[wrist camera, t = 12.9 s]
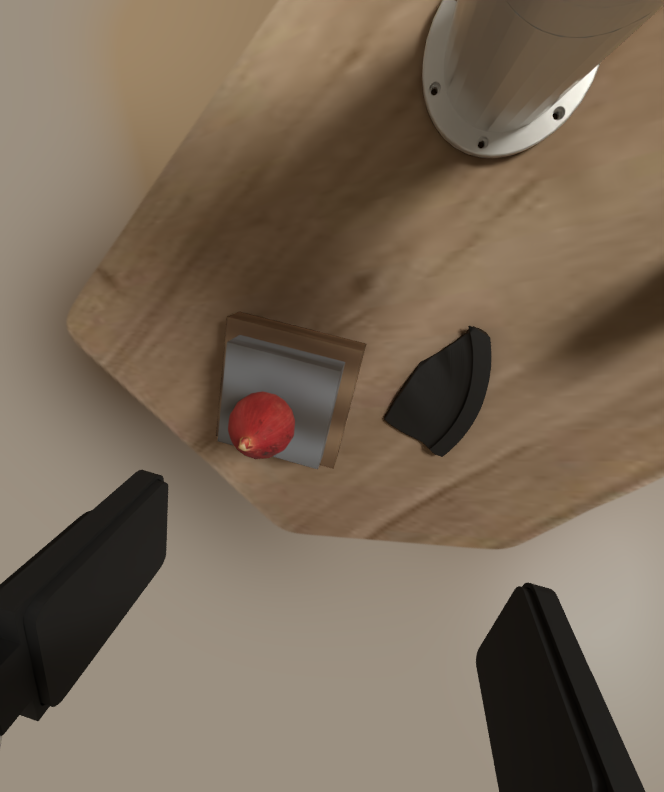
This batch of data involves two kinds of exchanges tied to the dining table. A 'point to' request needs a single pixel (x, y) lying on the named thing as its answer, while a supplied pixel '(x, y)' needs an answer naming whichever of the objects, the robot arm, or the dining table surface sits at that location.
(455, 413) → the curved wedge
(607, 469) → the dining table surface
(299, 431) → the wood and metal stack
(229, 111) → the dining table surface
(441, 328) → the dining table surface
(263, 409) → the onion
